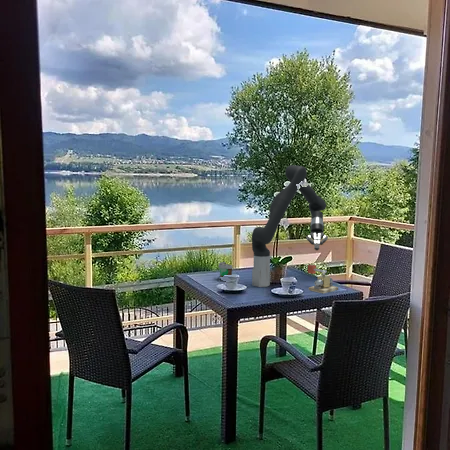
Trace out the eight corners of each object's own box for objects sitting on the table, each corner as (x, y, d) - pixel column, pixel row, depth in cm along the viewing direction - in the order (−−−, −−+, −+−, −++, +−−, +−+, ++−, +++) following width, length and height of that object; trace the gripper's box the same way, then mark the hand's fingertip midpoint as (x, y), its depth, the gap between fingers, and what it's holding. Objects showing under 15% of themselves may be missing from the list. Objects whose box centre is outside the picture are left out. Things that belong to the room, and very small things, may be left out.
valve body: (319, 289, 255) (319, 278, 255) (313, 288, 259) (313, 277, 258) (333, 286, 263) (333, 275, 262) (327, 284, 266) (327, 274, 266)
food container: (215, 278, 290) (215, 262, 289) (225, 277, 292) (225, 261, 291) (222, 282, 278) (222, 265, 277) (232, 281, 280) (232, 265, 279)
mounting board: (323, 293, 253) (323, 290, 253) (308, 290, 261) (308, 287, 260) (338, 289, 261) (338, 287, 261) (323, 286, 269) (323, 283, 269)
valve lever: (327, 276, 260) (327, 267, 259) (324, 276, 258) (324, 268, 258) (310, 272, 269) (311, 264, 268) (307, 273, 267) (307, 265, 267)
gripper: (305, 222, 285) (305, 245, 274) (328, 222, 283) (328, 246, 272) (305, 230, 291) (305, 253, 280) (328, 230, 289) (328, 253, 278)
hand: (316, 249), depth 276 cm, fingers closed
